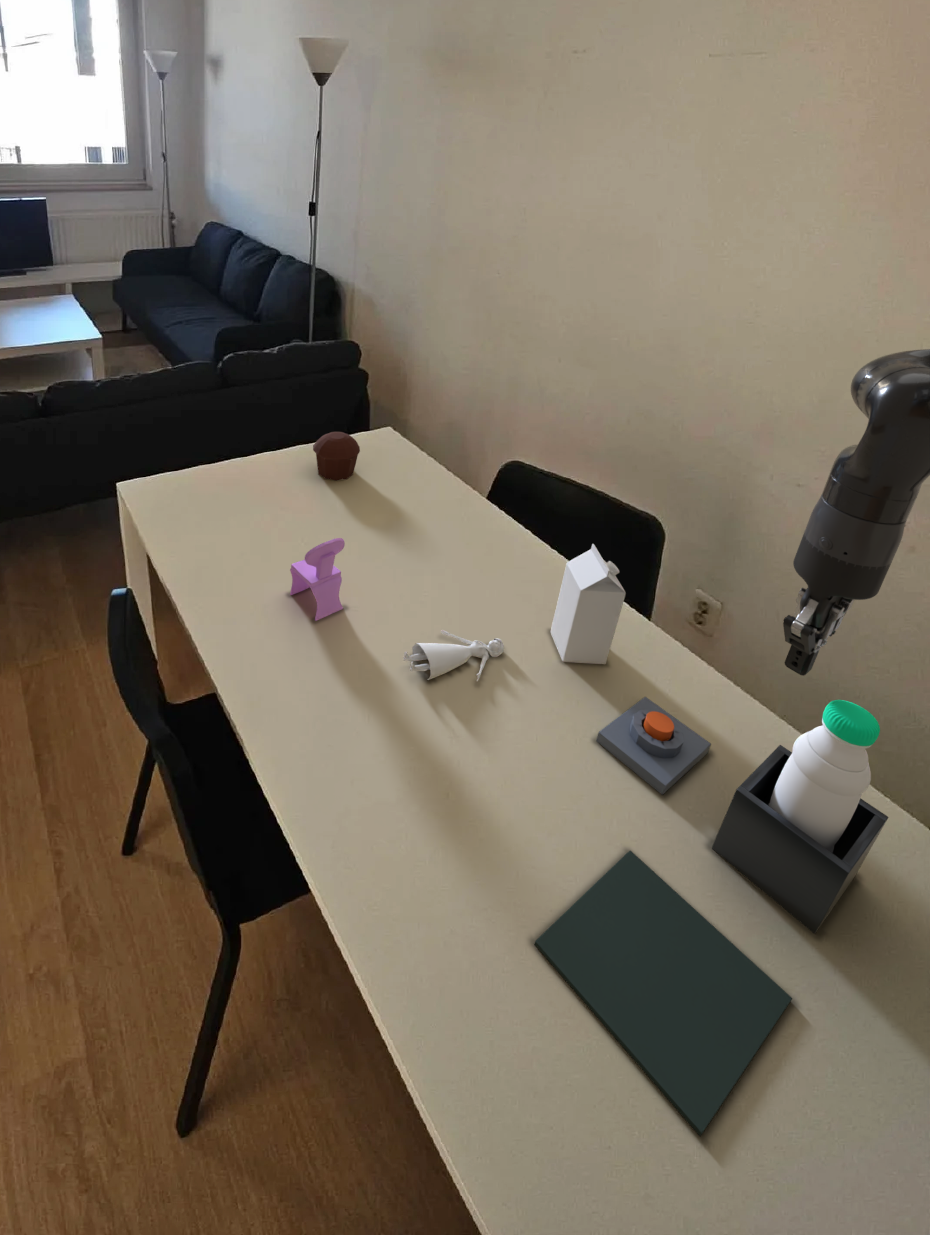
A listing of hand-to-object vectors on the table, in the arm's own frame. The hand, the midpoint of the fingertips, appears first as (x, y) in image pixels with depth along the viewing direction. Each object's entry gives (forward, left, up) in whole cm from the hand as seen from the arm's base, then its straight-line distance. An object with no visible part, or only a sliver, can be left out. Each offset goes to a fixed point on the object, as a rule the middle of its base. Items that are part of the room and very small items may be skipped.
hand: (796, 668), depth 78 cm
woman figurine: (+11, -39, -26) cm, 48 cm away
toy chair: (+22, -63, -26) cm, 71 cm away
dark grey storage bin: (+1, +6, -26) cm, 26 cm away
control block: (-1, -12, -26) cm, 28 cm away
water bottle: (+1, +6, -26) cm, 27 cm away
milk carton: (-9, -30, -26) cm, 40 cm away
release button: (-1, -12, -22) cm, 25 cm away
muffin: (-10, -100, -26) cm, 103 cm away
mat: (+25, +4, -26) cm, 36 cm away
